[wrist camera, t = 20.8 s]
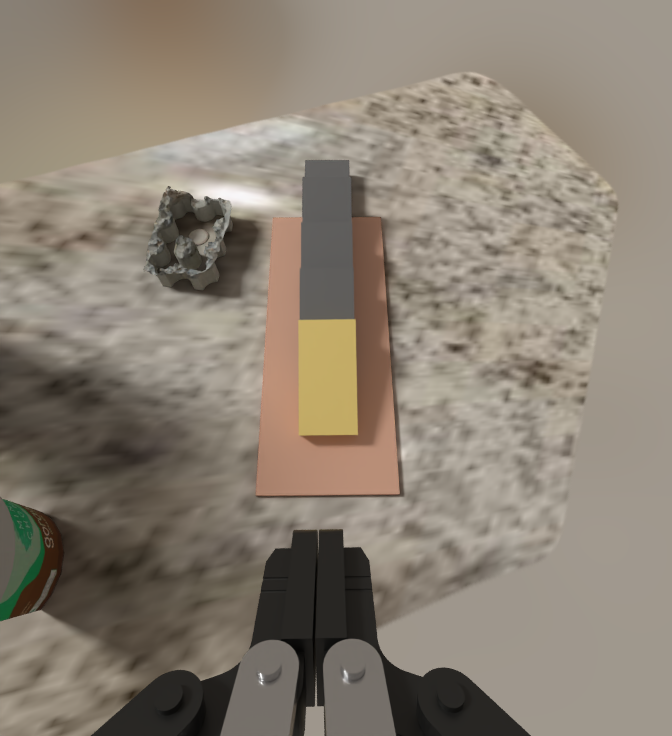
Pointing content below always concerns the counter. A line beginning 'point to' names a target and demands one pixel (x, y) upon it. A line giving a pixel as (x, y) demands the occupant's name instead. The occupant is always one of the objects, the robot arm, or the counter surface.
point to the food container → (27, 559)
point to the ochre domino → (327, 377)
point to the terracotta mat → (281, 380)
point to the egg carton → (187, 239)
